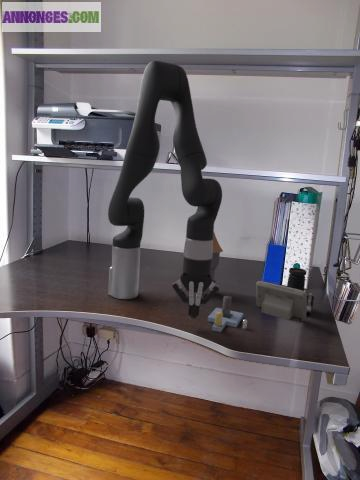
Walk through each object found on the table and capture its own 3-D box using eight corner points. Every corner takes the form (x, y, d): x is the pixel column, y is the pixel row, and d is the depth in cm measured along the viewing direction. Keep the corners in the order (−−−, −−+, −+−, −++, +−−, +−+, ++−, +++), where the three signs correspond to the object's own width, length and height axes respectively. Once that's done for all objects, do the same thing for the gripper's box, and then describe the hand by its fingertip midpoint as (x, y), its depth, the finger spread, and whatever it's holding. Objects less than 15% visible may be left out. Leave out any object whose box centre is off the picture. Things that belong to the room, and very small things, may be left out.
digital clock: (308, 322, 115) (313, 289, 113) (294, 329, 108) (299, 295, 106) (263, 306, 126) (266, 276, 124) (248, 312, 119) (251, 280, 117)
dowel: (241, 329, 103) (242, 320, 102) (242, 327, 104) (243, 318, 103) (245, 330, 103) (246, 321, 102) (246, 328, 104) (247, 319, 103)
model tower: (187, 291, 135) (194, 209, 129) (218, 293, 134) (225, 211, 129) (186, 300, 126) (193, 212, 120) (219, 303, 125) (227, 215, 119)
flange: (216, 311, 114) (217, 296, 113) (242, 317, 111) (244, 302, 110) (201, 327, 102) (202, 311, 101) (231, 334, 98) (233, 318, 98)
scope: (316, 276, 115) (283, 270, 119) (309, 318, 118) (278, 311, 122) (318, 270, 122) (287, 265, 126) (313, 310, 125) (282, 303, 129)
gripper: (172, 256, 94) (168, 321, 97) (224, 260, 94) (218, 324, 97) (173, 250, 101) (169, 310, 104) (221, 253, 101) (216, 313, 104)
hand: (193, 317), depth 101 cm, fingers closed
